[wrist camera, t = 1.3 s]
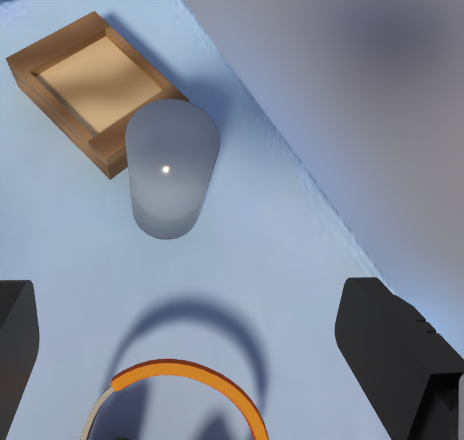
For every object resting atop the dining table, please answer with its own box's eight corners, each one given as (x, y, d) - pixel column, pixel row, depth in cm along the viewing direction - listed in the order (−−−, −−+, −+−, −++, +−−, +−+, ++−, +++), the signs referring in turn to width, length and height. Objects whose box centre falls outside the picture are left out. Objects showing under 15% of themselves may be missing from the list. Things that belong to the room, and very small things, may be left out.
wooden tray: (18, 86, 36) (5, 58, 33) (98, 40, 39) (94, 10, 36) (110, 179, 34) (106, 159, 31) (185, 123, 38) (188, 100, 34)
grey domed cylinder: (123, 229, 33) (112, 164, 23) (143, 170, 35) (141, 88, 25) (190, 247, 34) (207, 191, 24) (206, 188, 36) (228, 114, 26)
